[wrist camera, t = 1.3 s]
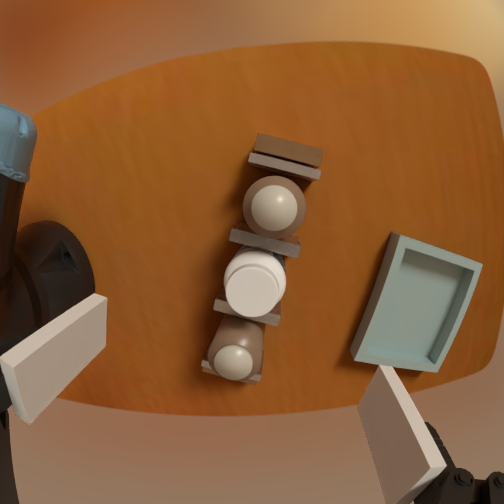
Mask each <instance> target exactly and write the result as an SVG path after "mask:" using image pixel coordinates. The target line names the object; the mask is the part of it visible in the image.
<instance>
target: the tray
mask: <svg viewBox="0 0 504 504" xmlns="http://www.w3.org/2000/svg"><path fill="white" fill-rule="evenodd" d="M482 265H483V264H480V263H478V262H476V261H474V260H471V259H469V258H466V257H463V256H461V255H458V254H455V253H452V252H450V251H447V250H444V249H441V248H438V247H436V246H433V245H430V244H427V243H424V242H421V241H418V240H415V239H412V238H409V237H406V236H403V235H400V234H397V233H394V232H391V235H390V238H389V241H388V245H387V248H386V251H385V254H384V258H383V261H382V264H381V267H380V270H379V273H378V276H377V279H376V282H375V285H374V288H373V290H372V293H371V296H370V299H369V301H368V304H367V307H366V309H365V312H364V315H363V317H362V320H361V322H360V325H359V327H358V330H357V332H356V335H355V337H354V340H353V342H352V344H351V347H350V349H349V350H350V352H351V355H352V357H353V360H354V361H359V362H365V363H371V364H377V365H384V366H392V367H397V368H404V369H412V370H420V371H428V372H438V370H439V368H440V366H441V364H442V362H443V360H444V358H445V356H446V354H447V352H448V350H449V348H450V346H451V344H452V342H453V340H454V338H455V336H456V333H457V331H458V329H459V327H460V324H461V322H462V320H463V317H464V315H465V313H466V310H467V308H468V305H469V303H470V300H471V297H472V295H473V292H474V289H475V286H476V284H477V281H478V278H479V275H480V272H481V269H482Z"/></svg>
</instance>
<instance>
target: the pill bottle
mask: <svg viewBox="0 0 504 504" xmlns="http://www.w3.org/2000/svg"><path fill="white" fill-rule="evenodd" d="M224 287H225V291H226V298H227V301H228V303H229V305H230V306H231V308H232V309H233V310H234V311H236V312H237V313H239V314H240V315H243V316H246V317H259V316H262V315H265V314H267V313H268V312H269V311H271V310H272V309H273V307H274V306H275V305H276V304H277V303H278V302H279V301H280V299H281V298H282V296H283V294H284V291H285V287H286V274H285V263H284V259H283V256H282V254H278V253H275V252H271V251H267V250H263V249H259V248H255V247H251V246H248V245H243V246H242V247H241V248H240V249H239V250H238V251H237V252H236V254H235V255H234V257H233V258H232V260H231V261H230V263H229V264H228V266H227V269H226V271H225V275H224Z"/></svg>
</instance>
